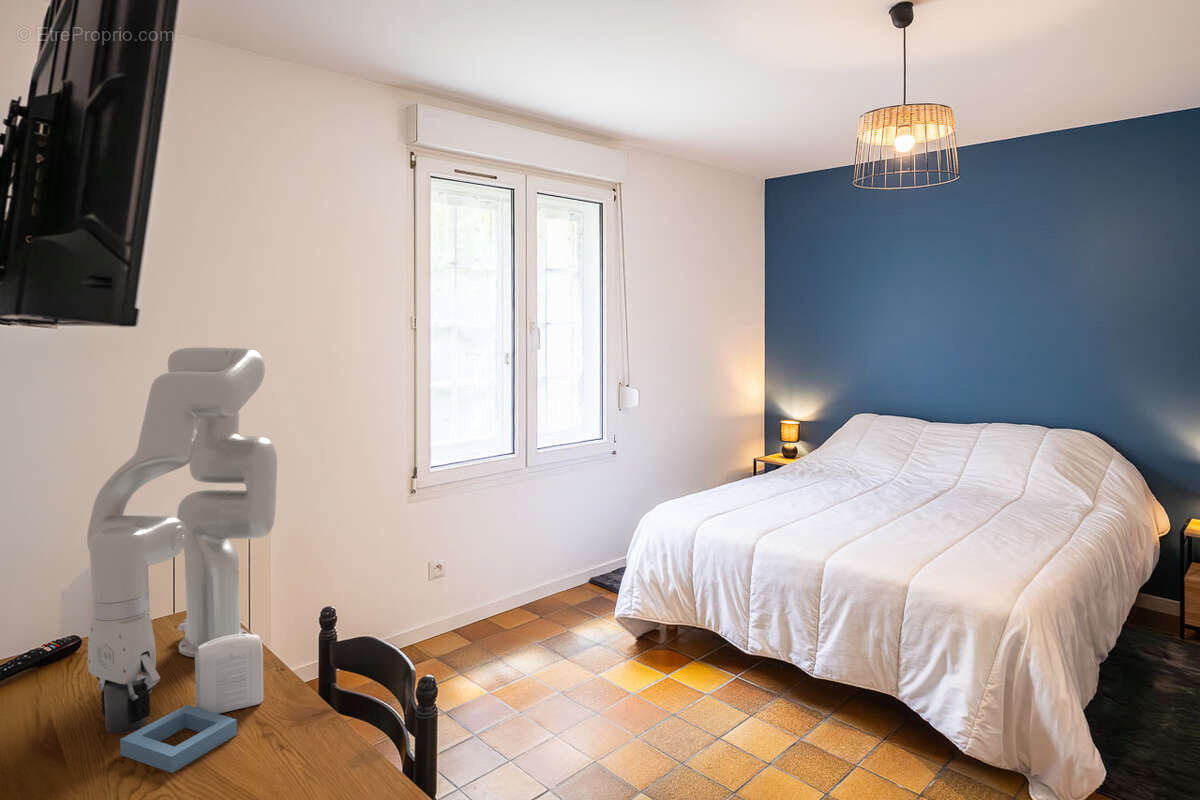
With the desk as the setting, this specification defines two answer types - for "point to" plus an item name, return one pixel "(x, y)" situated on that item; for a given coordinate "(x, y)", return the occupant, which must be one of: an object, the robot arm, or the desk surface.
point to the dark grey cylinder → (119, 708)
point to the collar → (170, 758)
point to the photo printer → (229, 673)
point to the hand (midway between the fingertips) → (126, 714)
